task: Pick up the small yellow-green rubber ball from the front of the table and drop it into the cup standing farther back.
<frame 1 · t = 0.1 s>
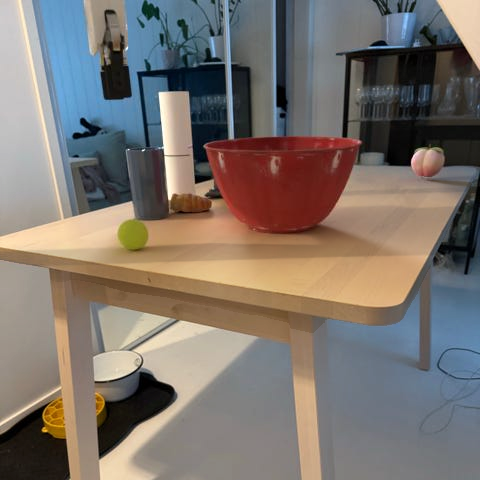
hand: (117, 98, 69), 23 cm above the table, tool pointing down, fingers open, 9 cm apart
decorative fruit: (425, 179, 138), on the table
beverage can: (220, 197, 122), on the table
pastry: (189, 211, 106), on the table
cup: (152, 216, 101), on the table
mixing bowl: (280, 226, 90), on the table
ball: (134, 249, 77), on the table
cylindrical container: (182, 199, 120), on the table
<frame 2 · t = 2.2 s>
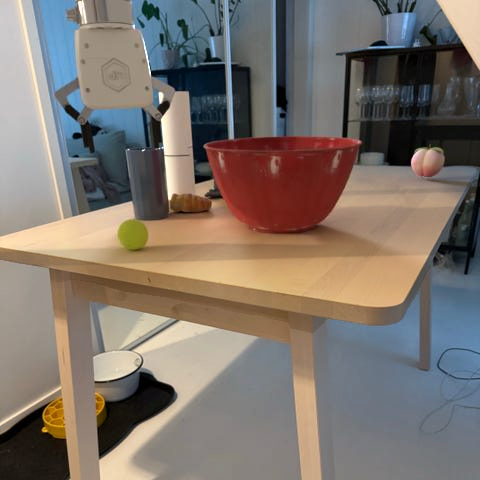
hand: (124, 150, 71), 16 cm above the table, tool pointing down, fingers open, 9 cm apart
nothing on the table moved.
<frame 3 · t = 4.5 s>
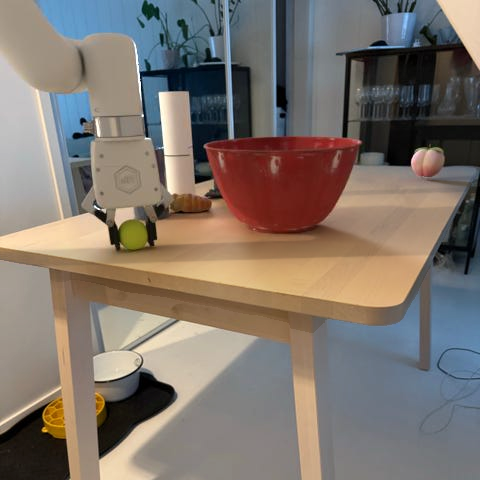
hand: (134, 245, 77), 1 cm above the table, tool pointing down, fingers closed on ball, 4 cm apart
ball: (135, 249, 77), on the table, touching gripper
everything else where it was.
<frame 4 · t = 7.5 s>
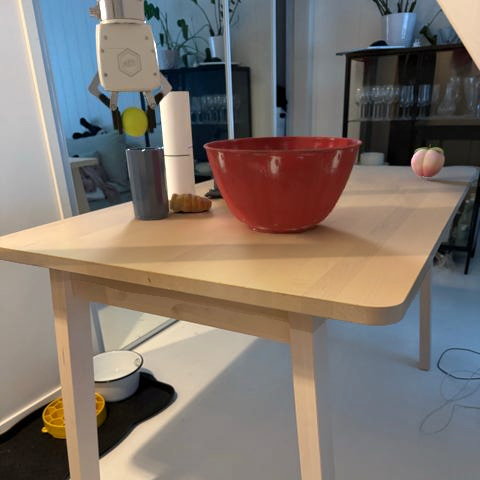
hand: (135, 132, 84), 18 cm above the table, tool pointing down, fingers closed on ball, 4 cm apart
ball: (136, 136, 84), point 17 cm above the table, touching gripper
everything else where it was.
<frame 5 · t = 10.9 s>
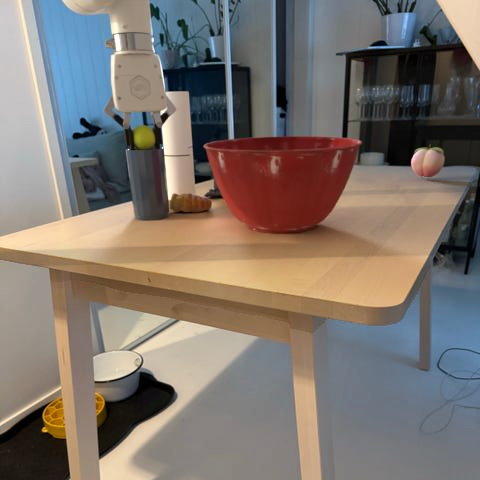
hand: (144, 148, 95), 14 cm above the table, tool pointing down, fingers closed on ball, 4 cm apart
ball: (145, 151, 95), point 13 cm above the table, touching gripper
everything else where it was.
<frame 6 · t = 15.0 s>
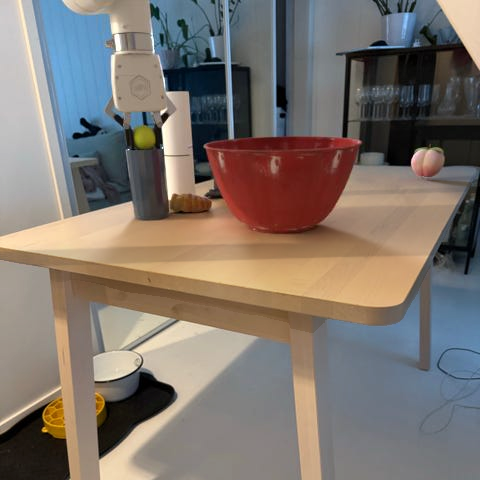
hand: (144, 148, 95), 14 cm above the table, tool pointing down, fingers closed on ball, 4 cm apart
ball: (145, 151, 95), point 13 cm above the table, touching gripper
everything else where it was.
when the fingers open (16 cm above the table, at t = 18.4 s): ball drops 14 cm, resting on cup.
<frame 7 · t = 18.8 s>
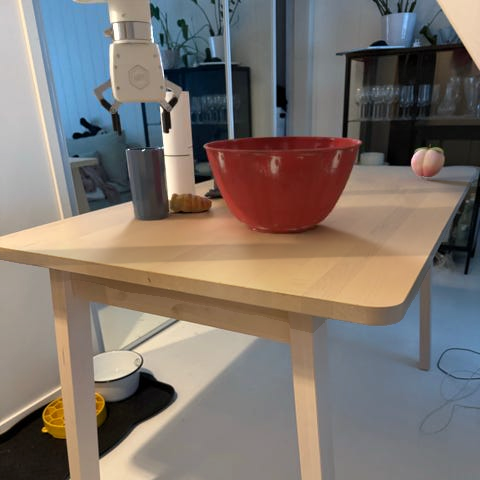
hand: (143, 134, 94), 17 cm above the table, tool pointing down, fingers open, 9 cm apart
ball: (151, 212, 101), point 1 cm above the table, touching cup
everything else where it was.
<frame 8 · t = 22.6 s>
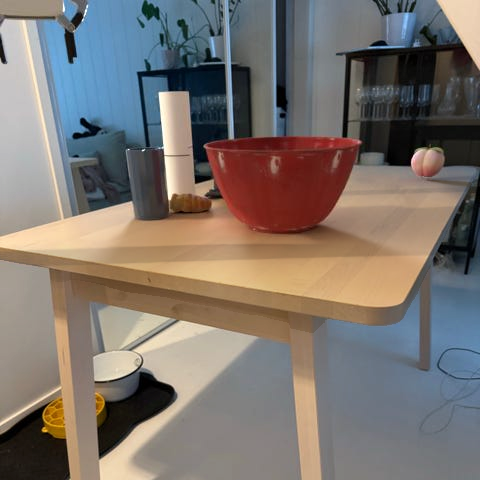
hand: (38, 63, 71), 28 cm above the table, tool pointing down, fingers open, 9 cm apart
ball: (151, 212, 100), point 1 cm above the table, tilted 10°, touching cup
everything else where it was.
at the end: ball 0.0 cm off-centre in the cup, point 0.8 cm above the cup's base; the gripper is holding nothing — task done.
